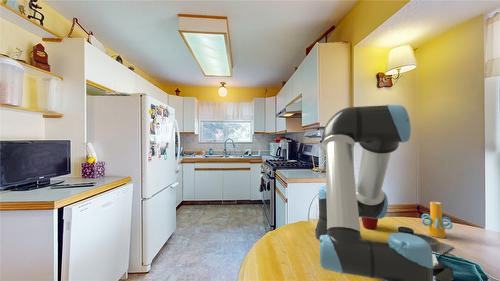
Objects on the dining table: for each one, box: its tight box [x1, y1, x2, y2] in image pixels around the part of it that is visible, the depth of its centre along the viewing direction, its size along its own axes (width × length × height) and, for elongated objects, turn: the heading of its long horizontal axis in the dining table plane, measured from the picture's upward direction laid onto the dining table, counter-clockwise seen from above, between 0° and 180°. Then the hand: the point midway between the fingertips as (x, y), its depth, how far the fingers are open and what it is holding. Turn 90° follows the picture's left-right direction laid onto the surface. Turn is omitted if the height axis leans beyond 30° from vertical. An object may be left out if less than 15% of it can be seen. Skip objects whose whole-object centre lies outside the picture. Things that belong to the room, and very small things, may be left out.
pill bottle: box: [397, 226, 415, 235], centre depth 78 cm, size 6×6×11 cm
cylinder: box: [421, 201, 453, 239], centre depth 99 cm, size 12×10×15 cm
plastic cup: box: [360, 217, 379, 231], centre depth 108 cm, size 11×11×12 cm
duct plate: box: [413, 232, 454, 254], centre depth 90 cm, size 16×16×3 cm
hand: (406, 252), depth 71 cm, fingers open, 13 cm apart
